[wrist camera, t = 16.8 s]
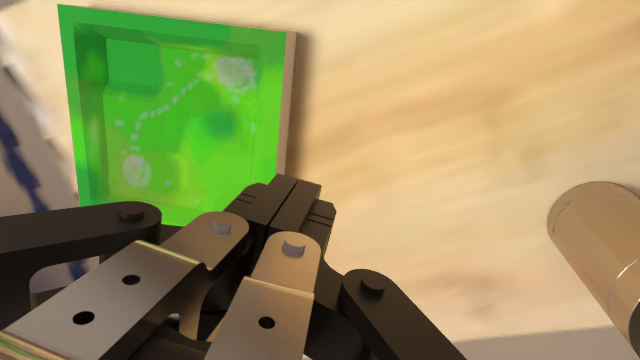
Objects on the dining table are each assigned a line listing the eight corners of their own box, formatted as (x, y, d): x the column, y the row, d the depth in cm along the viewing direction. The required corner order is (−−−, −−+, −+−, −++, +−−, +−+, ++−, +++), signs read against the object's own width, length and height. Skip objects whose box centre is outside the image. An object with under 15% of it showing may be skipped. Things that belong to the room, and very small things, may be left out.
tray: (280, 233, 53) (269, 252, 48) (107, 201, 56) (81, 216, 51) (298, 32, 44) (286, 32, 39) (90, 7, 47) (57, 3, 42)
